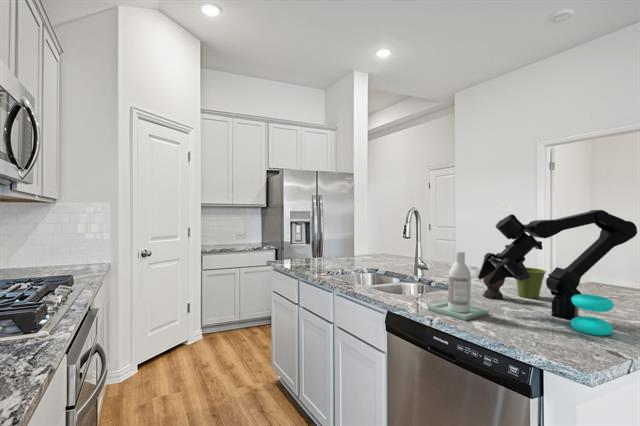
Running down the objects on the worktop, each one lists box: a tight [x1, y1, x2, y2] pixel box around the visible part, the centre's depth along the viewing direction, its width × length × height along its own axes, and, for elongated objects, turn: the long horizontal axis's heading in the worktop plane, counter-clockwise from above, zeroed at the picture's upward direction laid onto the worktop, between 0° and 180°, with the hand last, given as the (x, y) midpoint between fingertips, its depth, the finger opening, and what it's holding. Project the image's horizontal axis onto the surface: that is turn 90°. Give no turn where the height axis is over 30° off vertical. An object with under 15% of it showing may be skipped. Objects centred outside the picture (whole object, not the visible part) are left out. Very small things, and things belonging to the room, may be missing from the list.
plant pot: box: [515, 266, 547, 299], centre depth 147 cm, size 12×12×11 cm
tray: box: [427, 301, 490, 322], centre depth 122 cm, size 14×14×2 cm
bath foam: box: [447, 250, 472, 313], centre depth 122 cm, size 7×7×20 cm
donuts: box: [570, 293, 615, 337], centre depth 105 cm, size 10×10×10 cm
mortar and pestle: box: [482, 271, 506, 300], centre depth 143 cm, size 12×9×20 cm
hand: (483, 281), depth 121 cm, fingers open, 9 cm apart
